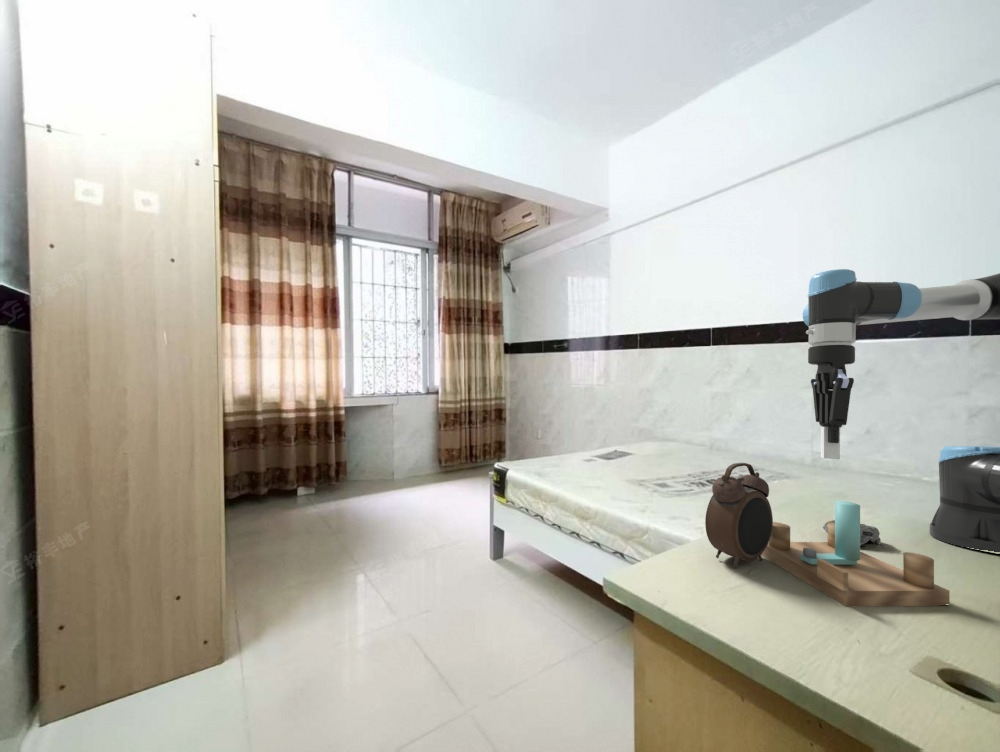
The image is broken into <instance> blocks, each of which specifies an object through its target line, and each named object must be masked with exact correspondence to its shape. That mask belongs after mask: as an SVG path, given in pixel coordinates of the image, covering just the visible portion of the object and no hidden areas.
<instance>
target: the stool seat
mask: <svg viewBox="0 0 1000 752" xmlns="http://www.w3.org/2000/svg"><path fill="white" fill-rule="evenodd" d="M803 548H810V549H814V550H816V551H817V554H835V523H833V522H830V523H828V533H827V541H808V542H807V541H791V526H790V525H789V524H786V523H782V522H776V521H773V527H772V533H771V537H770V540H769V543H768V545H767V547H766V549H765V550H764V552H763V553H762V554H761V557H762V556H763V557H764V558H766V559H768V561H770V562H772V563H774V564H775V565H777V566H778V567H781V569H784V570H785V571H787V572H788V573H790V574H791V575H794V576H795V577H797V578H798V579H800V580H802V581H804V582H805V583H807V584H809V585H810V586H812V587H814V588H815V589H817V590H818V591H821V593H823V594H825V595H827V596H828V597H830V598H831V599H832V600H834V601H835V600H836V601H837V603H840V604H842V605H843V606H845V607H846V608H847V607H940V606H939V605H946V604H950V599H951V598H950V590H949V589H947V588H945V587H942V586H940V585H938V584H935V560H934V558H932V557H930V556H928V555H924V554H921V553H916V552H910V551H909V552H907V551H905V552H903V558H902V560H903V563H902V564H903V567H902V568H903V569H901V568H899V567H896V566H895V565H892V564H890V563H887V562H885V561H883V560H881V559H878V558H876V557H873V556H871V555H869V554H867V553H865V552H863V551H860V560H858V561H857V565H832V564H830V563H828V562H826V561H824V560H822V559H817V565H811V564H809V563H807V562H806V561H804V560H802V559H801V554H803ZM950 605H951V604H950Z"/></svg>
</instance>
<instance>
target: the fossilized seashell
mask: <svg viewBox="0 0 1000 752" xmlns="http://www.w3.org/2000/svg"><path fill="white" fill-rule="evenodd" d="M830 522H833V523H835V519H834V520H830V521H827V522H825V523H824V525H823V526H822V529H823V530H824V531H825V532H826V533H827V534H828V523H830ZM880 535H881V534H880V531H879V529H878V528H877V527H875V526H872V525H871V526H870V525H866V524H865V523H860V546H862V545H865V544H866V543H869V541H870V542H871V543H873V544H875V545H880V544H881V537H880Z"/></svg>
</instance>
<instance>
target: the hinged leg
mask: <svg viewBox="0 0 1000 752" xmlns="http://www.w3.org/2000/svg"><path fill="white" fill-rule="evenodd" d="M834 520H835V554H817V551H816V550H814V549H810V548H803V554H801V559H802V560H804V561H806V562H807V563H809V564H811V565H817V559H822V560H824V561H826V562H828V563H830V564H832V565H857V561H858V560H860V552H861V545H860V524H861V505H860V504H858V503H856V502H851V501H845V500H835V501H834Z"/></svg>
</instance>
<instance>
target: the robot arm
mask: <svg viewBox="0 0 1000 752" xmlns="http://www.w3.org/2000/svg"><path fill="white" fill-rule="evenodd" d="M807 298H808V304H806V306H805V307H804V308H803V311H802V320H803V322H804V324H805V325H806V326H807V327H808V330H806V331H805V334H806V335H808V344H809V345H810V347H809V348H808V349H807V362H808V364H809V365H812V366H813V365H814V366H815V365H816V366H817V370H816V374H815V378H811V380H810V384H811V389H812V394H813V406H814V408H813V409H814V417H815V422H816V423H819V426H820V458H822V459H832V460H840V458H841V428H842V427H843V426H846V425H847V423H848V414H849V408H850V400H851V392H852V388H853V386H854V384H855V379H854V378H853V377H848V375H847V369H846V365H852V364H854V363H855V362H856V347H855V345H852V344H854V343H856V339H857V338H856V331H857V330H856V326H863V325H875V324H886V323H898V322H909V321H910V322H911V321H920V320H923V321H924V320H933V319H944V318H945V319H946V318H954V319H956V320H960V321H975V320H1000V272H999V273H996V274H992V275H987V276H984V277H980V278H973V279H972V278H971V279H964V280H961V281H959V282H956V283H955V284H953V285H943V286H934V287H931V286H930V287H921V288H920V287H918V286H917V285H915V284H913V283H908V282H899V281H890V282H889V281H886V282H885V281H859V280H858V281H857V277H856V272H855V271H854V270H852V269H847V268H846V269H845V268H843V269H841V268H840V269H831V270H825V271H821V272H818V273H816V274H814V275H813V276H811V277H810V278H809V283H808V295H807ZM938 474H939V477H938V478H939V481H938V482H939V506H938V508H937V510H936V512H935V513H934V516H933V518H932V519H931V522H930V524H929V535H930V536H931V537H933V538H934V539H937V540H938V541H940V542H944V543H946V544H949V543H950V545H952V544H953V545H952V546H956V545H958V546H957V547H959V546H962V547H961V548H963V547H969V548H974V549H979V550H988V551H994V552H1000V446H969V445H968V446H967V445H964V446H963V445H947V446H944V447H942V448H941V450H940V453H939V460H938Z"/></svg>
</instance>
